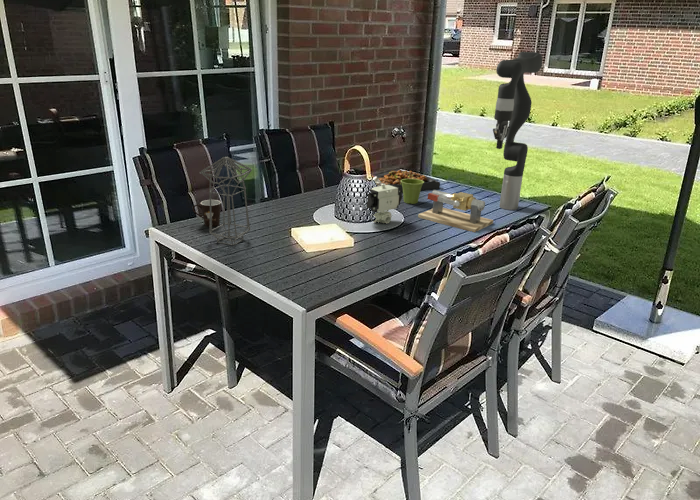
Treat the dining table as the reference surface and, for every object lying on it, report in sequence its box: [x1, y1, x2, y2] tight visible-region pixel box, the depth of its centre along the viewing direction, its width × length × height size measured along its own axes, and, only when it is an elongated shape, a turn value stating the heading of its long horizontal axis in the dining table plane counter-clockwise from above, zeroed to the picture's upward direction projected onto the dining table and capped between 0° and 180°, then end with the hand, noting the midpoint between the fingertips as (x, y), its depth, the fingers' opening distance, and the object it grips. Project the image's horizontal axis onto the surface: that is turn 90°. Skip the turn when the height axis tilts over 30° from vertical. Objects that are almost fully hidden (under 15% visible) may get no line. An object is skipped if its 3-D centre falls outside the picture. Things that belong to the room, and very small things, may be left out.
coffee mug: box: [192, 199, 222, 228], centre depth 241 cm, size 12×9×10 cm
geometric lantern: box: [199, 156, 253, 246], centre depth 217 cm, size 16×16×35 cm
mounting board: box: [417, 207, 494, 233], centre depth 259 cm, size 18×30×2 cm, turn 50°
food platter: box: [361, 167, 441, 193], centre depth 313 cm, size 45×25×10 cm, turn 113°
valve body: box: [431, 189, 486, 224], centre depth 256 cm, size 8×26×12 cm, turn 50°
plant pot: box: [401, 179, 424, 205], centre depth 283 cm, size 12×12×11 cm
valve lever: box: [427, 192, 460, 207], centre depth 254 cm, size 2×3×16 cm
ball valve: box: [367, 184, 403, 224], centre depth 250 cm, size 18×8×18 cm, turn 127°
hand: (499, 148), depth 246 cm, fingers closed
